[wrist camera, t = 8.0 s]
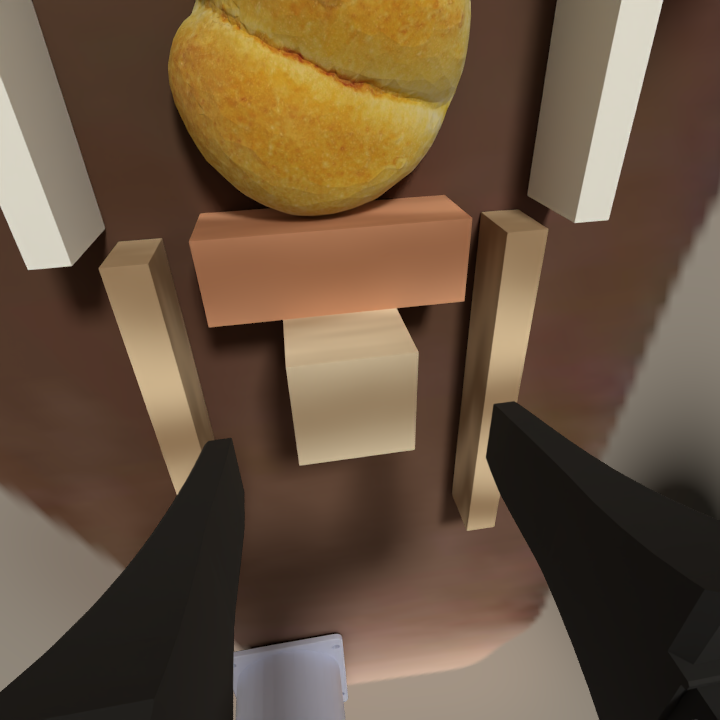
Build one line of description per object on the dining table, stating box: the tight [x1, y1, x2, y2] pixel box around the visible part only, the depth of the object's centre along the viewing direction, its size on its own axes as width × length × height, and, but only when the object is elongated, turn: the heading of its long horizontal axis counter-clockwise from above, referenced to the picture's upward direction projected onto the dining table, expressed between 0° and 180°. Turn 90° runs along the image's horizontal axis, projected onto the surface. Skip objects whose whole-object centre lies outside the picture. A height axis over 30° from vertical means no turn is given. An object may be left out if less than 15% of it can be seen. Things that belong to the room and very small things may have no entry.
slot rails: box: [98, 209, 548, 531], centre depth 22 cm, size 16×15×2 cm
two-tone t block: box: [189, 195, 472, 466], centre depth 17 cm, size 7×9×6 cm
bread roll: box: [168, 0, 471, 216], centre depth 14 cm, size 8×9×4 cm
